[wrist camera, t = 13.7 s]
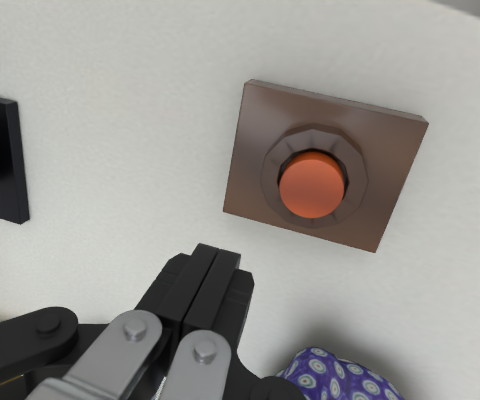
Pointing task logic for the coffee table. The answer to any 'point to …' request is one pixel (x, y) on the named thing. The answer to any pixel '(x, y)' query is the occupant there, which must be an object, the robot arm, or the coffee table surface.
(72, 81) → the coffee table surface
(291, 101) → the switch
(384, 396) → the teapot
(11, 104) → the lever base
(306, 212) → the button
